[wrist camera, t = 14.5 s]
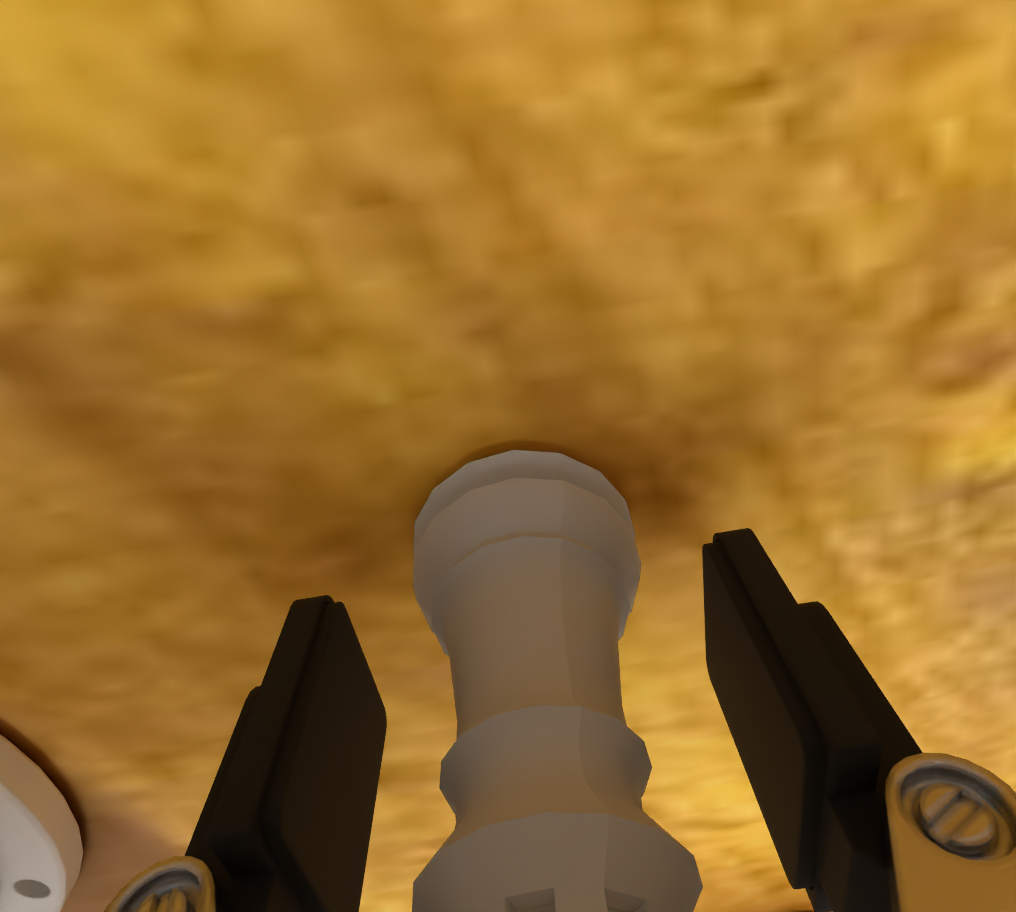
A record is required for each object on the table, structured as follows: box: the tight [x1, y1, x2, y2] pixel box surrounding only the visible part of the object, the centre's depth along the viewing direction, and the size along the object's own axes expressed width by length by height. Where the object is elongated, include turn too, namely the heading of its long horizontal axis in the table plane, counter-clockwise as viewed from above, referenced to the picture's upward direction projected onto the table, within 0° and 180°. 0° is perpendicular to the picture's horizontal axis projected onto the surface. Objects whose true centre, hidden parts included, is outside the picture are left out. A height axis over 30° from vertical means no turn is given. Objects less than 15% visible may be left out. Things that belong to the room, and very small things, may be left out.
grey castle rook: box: [412, 450, 703, 912], centre depth 10 cm, size 4×4×8 cm
